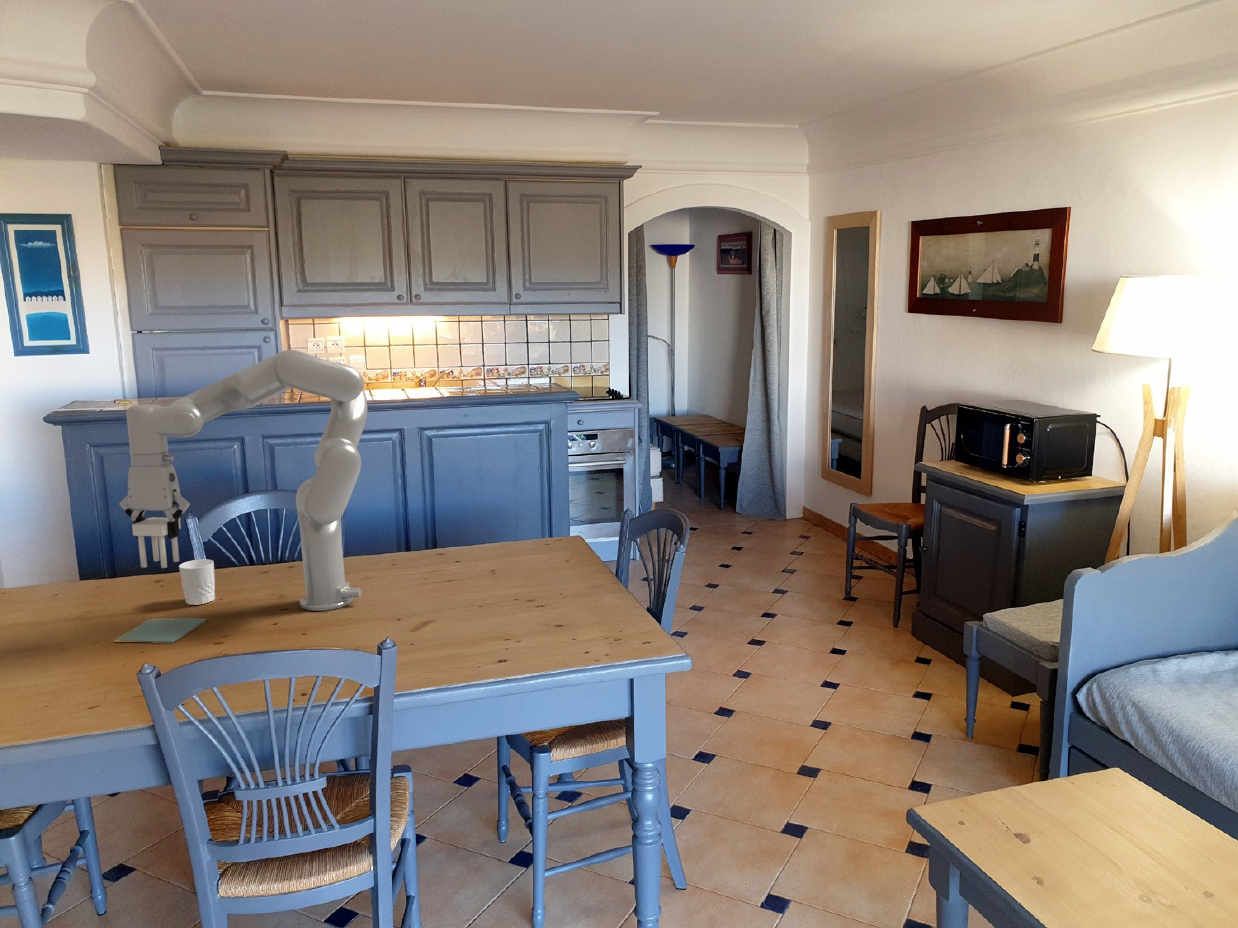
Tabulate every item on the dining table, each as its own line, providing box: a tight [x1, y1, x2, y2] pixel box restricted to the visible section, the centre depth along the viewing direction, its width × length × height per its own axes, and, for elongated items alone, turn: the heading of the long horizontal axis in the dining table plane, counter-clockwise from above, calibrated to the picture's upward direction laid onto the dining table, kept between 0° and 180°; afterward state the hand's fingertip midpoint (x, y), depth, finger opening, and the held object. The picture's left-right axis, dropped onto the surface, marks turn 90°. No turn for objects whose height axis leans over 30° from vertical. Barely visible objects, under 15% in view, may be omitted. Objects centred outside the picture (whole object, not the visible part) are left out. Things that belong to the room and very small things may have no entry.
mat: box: [116, 617, 208, 644], centre depth 207 cm, size 14×14×1 cm
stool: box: [131, 516, 182, 569], centre depth 204 cm, size 7×7×10 cm
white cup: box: [178, 558, 216, 605], centre depth 226 cm, size 8×8×10 cm
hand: (157, 536), depth 204 cm, fingers closed on stool, 7 cm apart
